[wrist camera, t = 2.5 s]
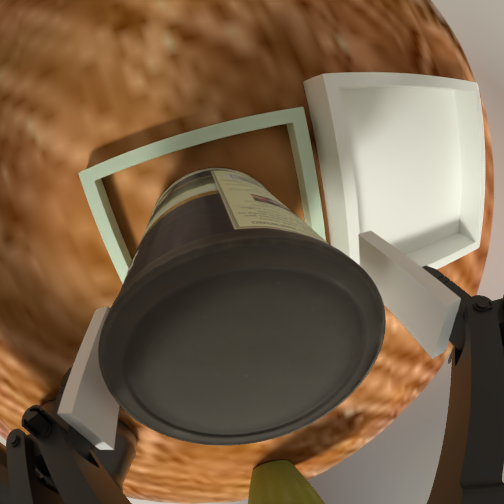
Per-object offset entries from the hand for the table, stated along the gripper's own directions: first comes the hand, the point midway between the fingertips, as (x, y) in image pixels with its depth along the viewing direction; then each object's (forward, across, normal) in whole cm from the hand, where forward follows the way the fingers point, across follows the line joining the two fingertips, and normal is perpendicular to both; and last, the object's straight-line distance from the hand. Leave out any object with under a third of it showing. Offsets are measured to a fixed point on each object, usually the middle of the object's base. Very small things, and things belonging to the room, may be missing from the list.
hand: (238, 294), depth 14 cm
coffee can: (+9, 0, 0) cm, 9 cm away
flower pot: (+9, -4, -47) cm, 48 cm away
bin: (+9, +18, +1) cm, 20 cm away
